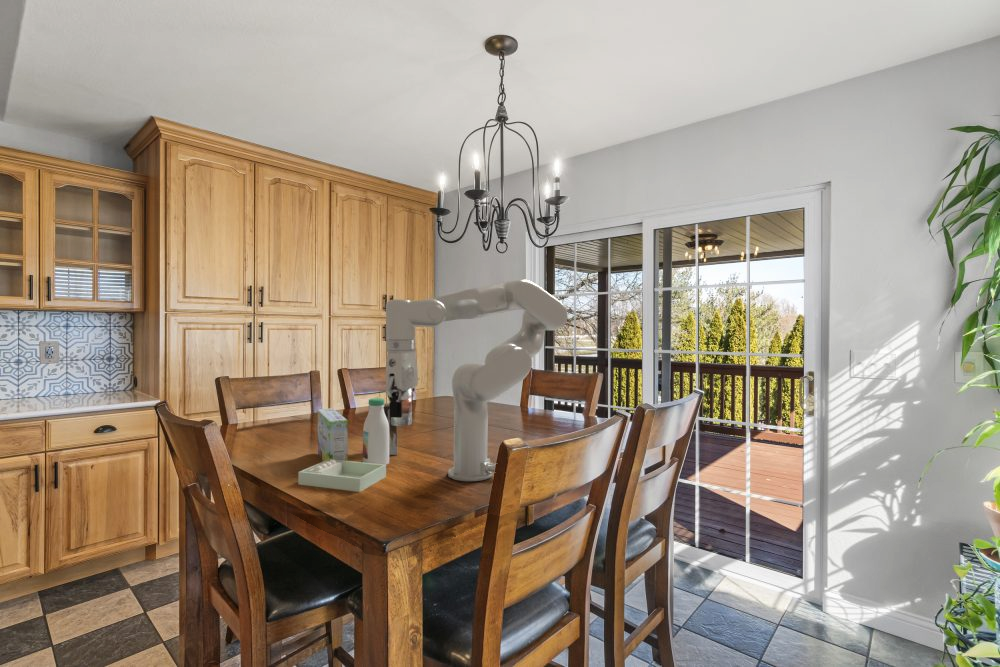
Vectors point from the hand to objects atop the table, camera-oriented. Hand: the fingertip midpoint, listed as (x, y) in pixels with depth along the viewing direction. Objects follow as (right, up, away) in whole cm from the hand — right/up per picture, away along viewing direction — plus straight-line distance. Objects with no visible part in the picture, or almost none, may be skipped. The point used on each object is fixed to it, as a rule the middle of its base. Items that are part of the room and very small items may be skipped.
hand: (401, 414), depth 130 cm
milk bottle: (-11, -18, +18) cm, 28 cm away
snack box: (-25, -18, +20) cm, 37 cm away
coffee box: (-12, -18, +32) cm, 39 cm away
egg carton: (-21, -18, +2) cm, 27 cm away
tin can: (0, -3, 0) cm, 3 cm away
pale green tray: (-16, -18, +1) cm, 24 cm away
